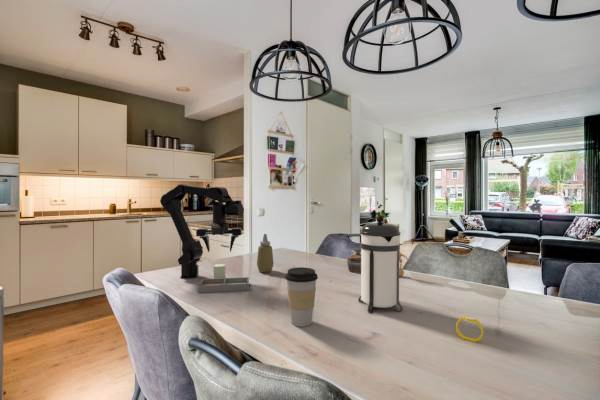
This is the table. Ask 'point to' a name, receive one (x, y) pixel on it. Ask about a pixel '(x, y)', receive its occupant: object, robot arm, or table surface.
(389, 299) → the coffee press
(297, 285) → the coffee cup
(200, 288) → the board
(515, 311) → the table surface
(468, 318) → the yellow ring
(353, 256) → the cupcake
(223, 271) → the sage block
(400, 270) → the figurine
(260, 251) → the squeeze bottle
